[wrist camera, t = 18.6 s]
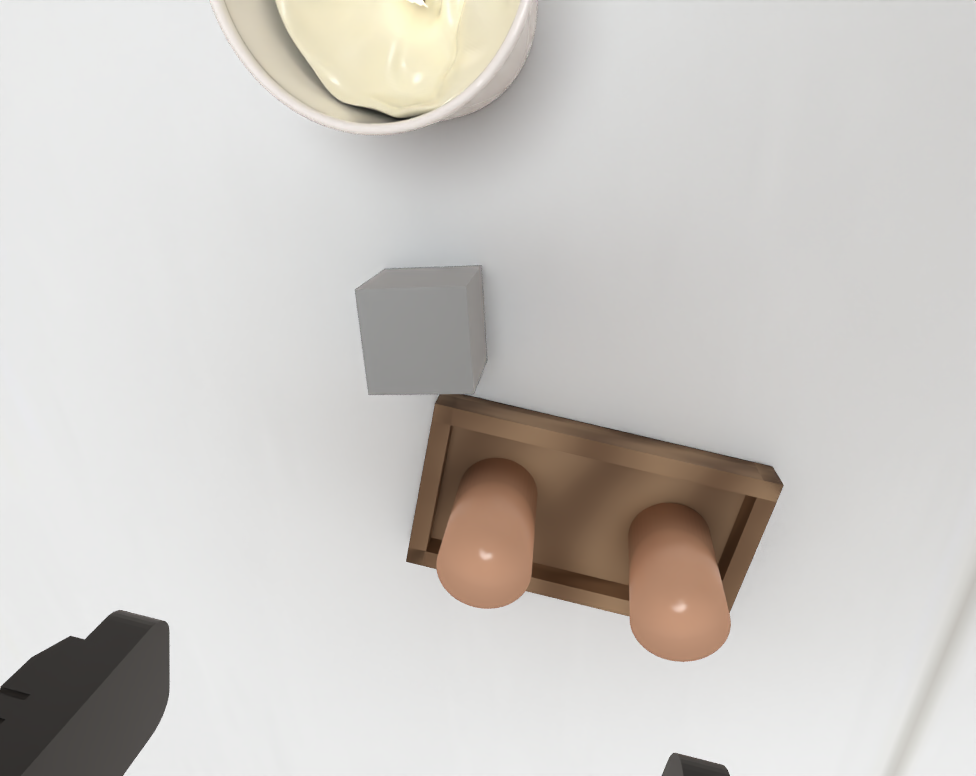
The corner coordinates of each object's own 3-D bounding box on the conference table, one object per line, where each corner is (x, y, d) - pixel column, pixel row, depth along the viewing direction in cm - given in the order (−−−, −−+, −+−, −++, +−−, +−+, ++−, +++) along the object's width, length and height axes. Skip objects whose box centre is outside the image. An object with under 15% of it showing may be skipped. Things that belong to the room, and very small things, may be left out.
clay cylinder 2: (708, 500, 35) (728, 579, 29) (713, 571, 37) (732, 662, 30) (624, 504, 36) (625, 581, 30) (631, 573, 38) (634, 661, 31)
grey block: (481, 265, 33) (466, 285, 28) (487, 359, 35) (474, 393, 30) (385, 268, 34) (354, 289, 29) (395, 361, 36) (368, 395, 31)
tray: (772, 466, 35) (783, 485, 33) (711, 614, 39) (718, 638, 37) (442, 389, 36) (435, 403, 34) (414, 541, 39) (406, 561, 38)
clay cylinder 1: (536, 458, 36) (530, 528, 29) (538, 528, 37) (532, 610, 31) (456, 457, 36) (432, 526, 30) (461, 526, 38) (439, 606, 31)
